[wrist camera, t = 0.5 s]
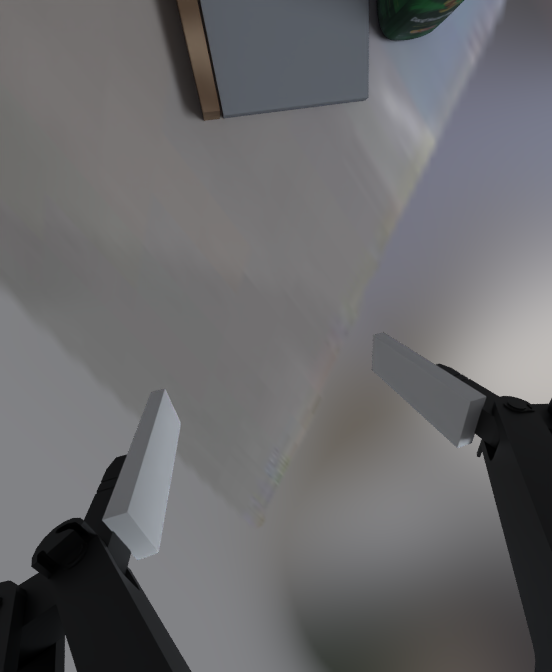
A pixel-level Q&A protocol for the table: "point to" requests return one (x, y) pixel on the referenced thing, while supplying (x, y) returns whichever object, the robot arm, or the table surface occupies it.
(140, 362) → the table surface
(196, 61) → the walnut stop strip
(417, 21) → the coffee jar
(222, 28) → the rubber mat
